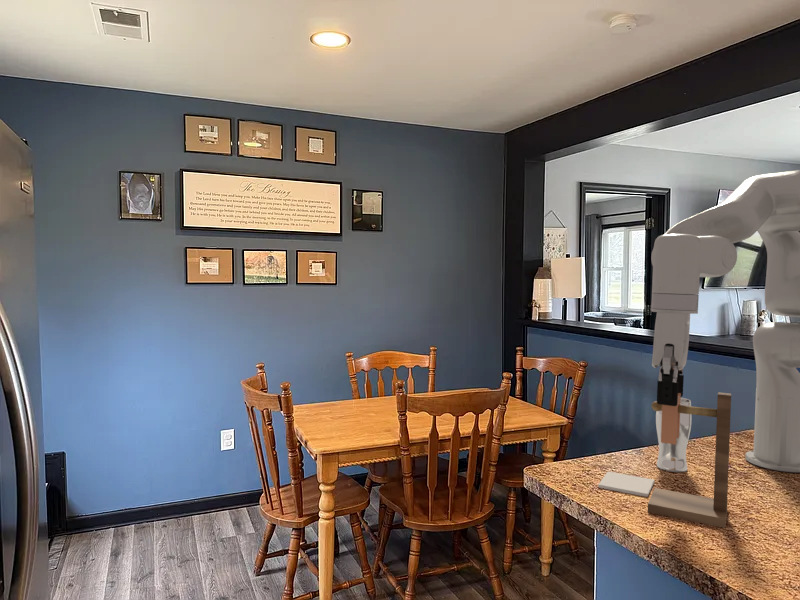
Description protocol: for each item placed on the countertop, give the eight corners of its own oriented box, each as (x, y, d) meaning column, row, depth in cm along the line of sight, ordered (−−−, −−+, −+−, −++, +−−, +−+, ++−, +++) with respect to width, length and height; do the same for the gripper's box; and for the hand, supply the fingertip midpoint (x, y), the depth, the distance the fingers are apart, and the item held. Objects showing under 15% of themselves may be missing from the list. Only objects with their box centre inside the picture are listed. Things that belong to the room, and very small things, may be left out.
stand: (651, 495, 110) (655, 382, 109) (727, 509, 104) (731, 390, 103) (644, 511, 103) (648, 390, 102) (725, 528, 96) (730, 399, 95)
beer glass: (693, 474, 122) (696, 403, 121) (658, 471, 124) (660, 401, 123) (684, 463, 129) (686, 396, 128) (651, 461, 130) (653, 395, 130)
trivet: (607, 474, 122) (607, 471, 122) (654, 482, 117) (654, 479, 117) (598, 487, 114) (598, 484, 114) (647, 497, 109) (647, 493, 109)
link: (664, 434, 107) (666, 391, 107) (679, 436, 106) (680, 393, 106) (660, 442, 102) (662, 397, 102) (675, 444, 101) (677, 399, 101)
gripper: (657, 302, 112) (654, 390, 113) (644, 304, 98) (640, 405, 98) (701, 304, 109) (697, 395, 109) (694, 306, 94) (689, 412, 94)
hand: (670, 400), depth 104 cm, fingers open, 9 cm apart
